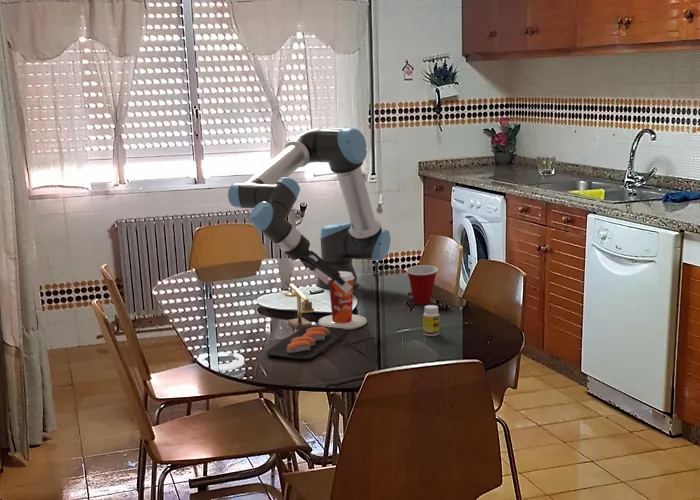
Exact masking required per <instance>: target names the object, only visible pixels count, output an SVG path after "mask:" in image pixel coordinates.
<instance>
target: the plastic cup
mask: <svg viewBox="0 0 700 500" xmlns="http://www.w3.org/2000/svg"><path fill="white" fill-rule="evenodd" d="M405 271H406V273H407V277H408V280H409V285H410V291H411V293H412V301H413V303H414V304H416V305H430V303H431V302H432V297H433V292H434V288H435V286H434V285H435V281H436V276H437V272H438V271H439V269H438V267H436V266H433V265H428V264H425V265H424V264H422V265H421V264H419V265H413V266H410V267H407V268H406V269H405Z"/></svg>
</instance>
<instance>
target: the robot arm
mask: <svg viewBox="0 0 700 500" xmlns="http://www.w3.org/2000/svg"><path fill="white" fill-rule="evenodd" d="M367 147H368V146H367V140H366V138H365V136H364V134H363V133H362V131H360V130H359V129H357V128H355V127H347V126H345V127H315V128H310V129H308V130H306V131H304V132H301V133H300V134H298V135H297V136H295V137H293V138H291V140H289V141H288V142H286V144H285V146H284V149H283V150H282V151H281V152H279V153H278V154H277V155H276V156H275V157H274V158H272V159H271V160H270V161H269V162H267V164H265V165H263V167H262V168H261V169H259V170H258V171H257V172H255V174H253V175H252V176H251V177H250V178H248V179H247V180H246V181H244V182H235V183H233V184H231V185H230V186H229V188H228V192H227V198H228V202H229V204H230V205H231V206H232V207H233V208H240V209H251V212H250V214H249V221H250V222H251V224H252V225H253V226H254V227H255V228H256V229H257V231H260V233H262V234H263V235H265V237H267V238H268V239H269V240H270V241H271V242H273V244H275V245H276V246H275V248H276V249H277V250H278V249H280V250H281V251H282V252H284V253H285V255H286V256H287V257H288V258H289V259H291V260H293V261H298V260H299V261H300V262H301V264H303V266H304V267H305V268H306V269H308V270H309V271H311V272H312V273H313V274H314V275H315V276H317V280H316V281H317V282H316V283H317V286H318V287H319V288H322V289H329V290H330V286H329V280H328V277H329V278H331V279H332V280H331V282H332V283H333V282H334V283H335V284H336V285H337V286H339V287H340V288H341V289H342V290H343V291H344V292H345V293H348V292H349V290H350V289H351V288H352V286H351V285H350V284H349V283H348V282H347V281H346V280H345V279H344V278H342V277H341V276H340V273H339V271H345V272H351V273H352V274H353V276H354V279H353V288H354V287H355V286H357V285H358V277H357V274H356V271H355V268H354V264H353V260H361V261H371V262H374V261H376V262H377V261H378V262H379V261H383V260H384V259H385V258H386V257H387V256H388V253H389V251H390V250H389V249H390V246H391V233H390V231H389V230H388V229H386V228H382V224H381V222H380V221H379V220H378V219H376V218H375V215H374V211H373V208H372V207H373V206H372V204H371V200H370V197H369V193H368V189H367V185H366V182H365V178H364V174H363V171H362V168H361V167H363V165H364V161H365V159H366V157H367V153H368V152H367ZM311 163H328V166H329V168H330V171H331V172H332V173H334V174H336V176H337V179H338V184H339V186H340V190H341V193H342V198H343V200H344V203H345V207H346V211H347V213H348V218H349V221H350V222H337V223H332V224H327V225H324V226H322V227H321V229H320V238H319V240H320V254H321V255H320V256H319V255H318V254H317V253H315V252H314V251H313V250H310V249H309V248H310V247H311V245H310V244H311V243H310V240H309V239H308V238H306V237H305V236H304V235H303V234H301V232H300V231H299V230H298V229H297V228H296V227H295V226H294V225H293V224H291V223H290V222H289V220H287V218H288V216H289V214H290V213H291V211H292V209H293V207H294V205H295V203H296V202H297V200H298V197H299V195H300V192H301V188H300V185H299V183H298V182H297V181H296V180H295V179H293V178H291V177H290V176H291V175H292V174H293V173H295V172H296V171H297V169H299V168H303V167H305V166H307V165H308V164H311Z"/></svg>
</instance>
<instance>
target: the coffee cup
mask: <svg viewBox="0 0 700 500" xmlns="http://www.w3.org/2000/svg"><path fill="white" fill-rule="evenodd" d="M339 273H340V276H341V277H342V278H344V279H345V280H346V281H347V282H348V283H349V284H350V285H351V286H352V288H351V289H350V290H349V292H348V293H345V292H344V291H343V290H342V289H341V288H340V287H339V286H337V285H336V284H335V283H334V282H333V283H332V282H331V280H332V279H331V278H329V277H328V280H329V286H330V289H329V296H330V297H329V298H330V308H331V315H332V319H333V322H335V323H348V322H351V321H352V314H353V299H354V298H353V297H354V295H353V293H354V287H353V279H354V276H353V274H352V273H351V272H345V271H339Z"/></svg>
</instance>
